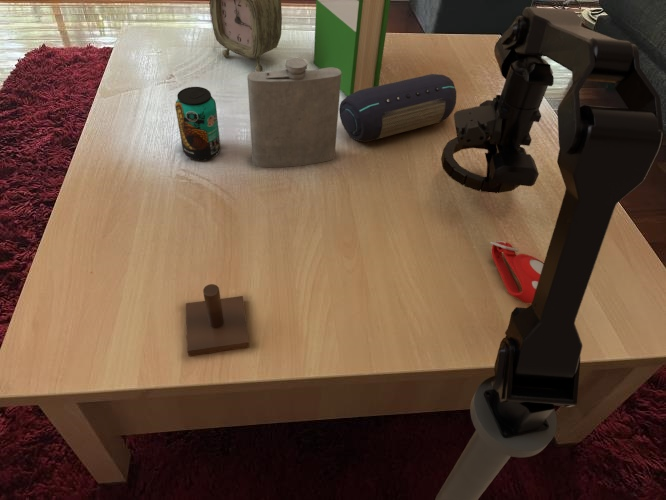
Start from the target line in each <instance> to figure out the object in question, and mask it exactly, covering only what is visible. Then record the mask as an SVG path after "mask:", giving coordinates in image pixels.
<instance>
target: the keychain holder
mask: <svg viewBox="0 0 666 500" xmlns="http://www.w3.org/2000/svg"><path fill="white" fill-rule="evenodd" d="M489 244H490V245H491V257H492V259H493V261H494V264H495V266H496V268H497V271H498V273H499V275H500V277H501V280H502V281H503V284H504V286H505V288H506V291H507V292H508V293H509V295H511V296H512V297H514V298H515V299H517V300H519V301H520V302H523V303H525V304H532V301H533V298H534V295H535V291H536V288H537V285H538V281H539V278H540V275H541V271H542V268H543V265H544V261H542V260H540V259H538V258H537V257H534V256H532V255H529V254H524V253H519V254H516V252H517V253H518V252H519V249H518V248H515V247H513V245H512V244H511V243H510V242H505V241H503V240H496V242H495V241H490V242H489ZM505 260H506V262H507V264H508V265H509V267H510V268H511V271H512V272H513V273H514V276H515V277H516V278H517V279H518V282H519V284H520V285H519V286H520V288H521V291H520V290H519V288H518V285H517V283H516V281H515V279H514V278H513V275H512V274H511V271H510V269H509V267H508V265H507V264H506V262H505Z"/></svg>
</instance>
